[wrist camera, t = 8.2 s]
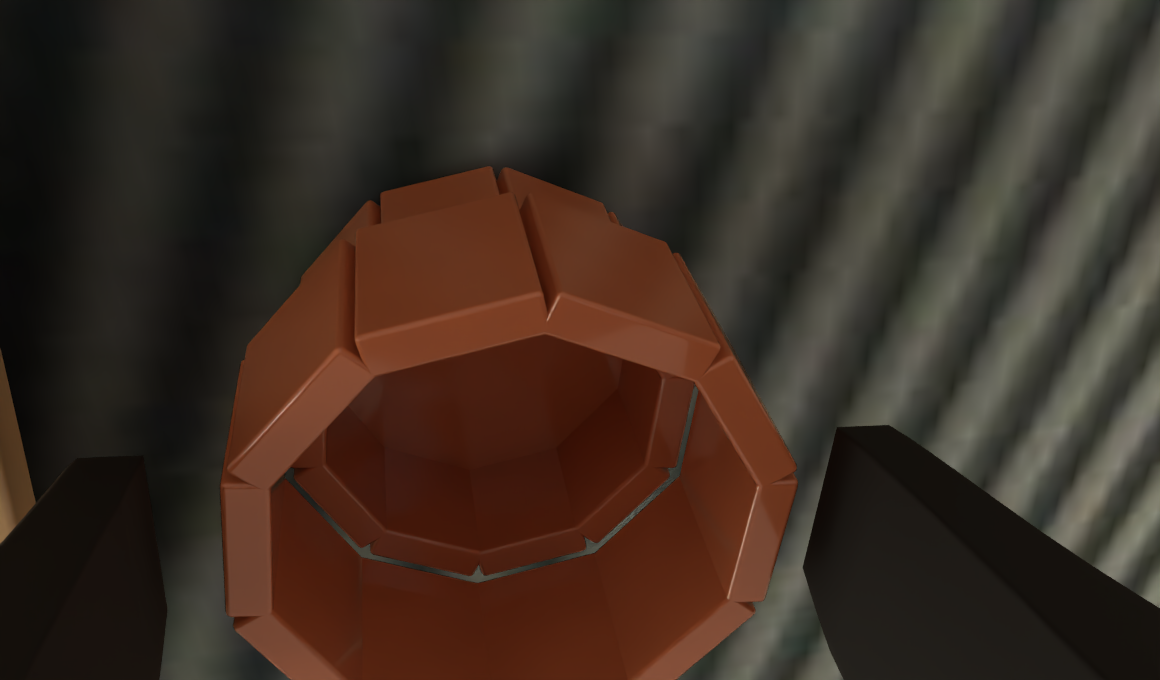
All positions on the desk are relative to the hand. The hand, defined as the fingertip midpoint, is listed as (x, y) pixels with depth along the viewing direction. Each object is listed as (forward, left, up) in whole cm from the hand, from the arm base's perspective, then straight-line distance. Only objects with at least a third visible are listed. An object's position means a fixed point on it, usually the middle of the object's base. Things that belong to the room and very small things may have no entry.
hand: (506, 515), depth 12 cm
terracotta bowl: (0, 0, -4) cm, 4 cm away
